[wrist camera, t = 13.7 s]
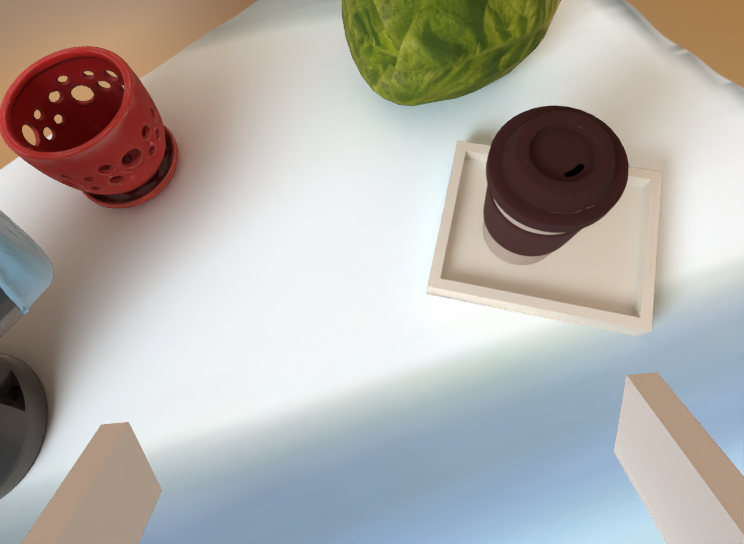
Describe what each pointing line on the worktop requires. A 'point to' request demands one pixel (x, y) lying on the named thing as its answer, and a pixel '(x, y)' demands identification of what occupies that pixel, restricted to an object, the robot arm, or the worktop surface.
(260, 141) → the worktop surface
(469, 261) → the tray
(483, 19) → the lettuce
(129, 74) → the plant pot
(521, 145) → the coffee cup
